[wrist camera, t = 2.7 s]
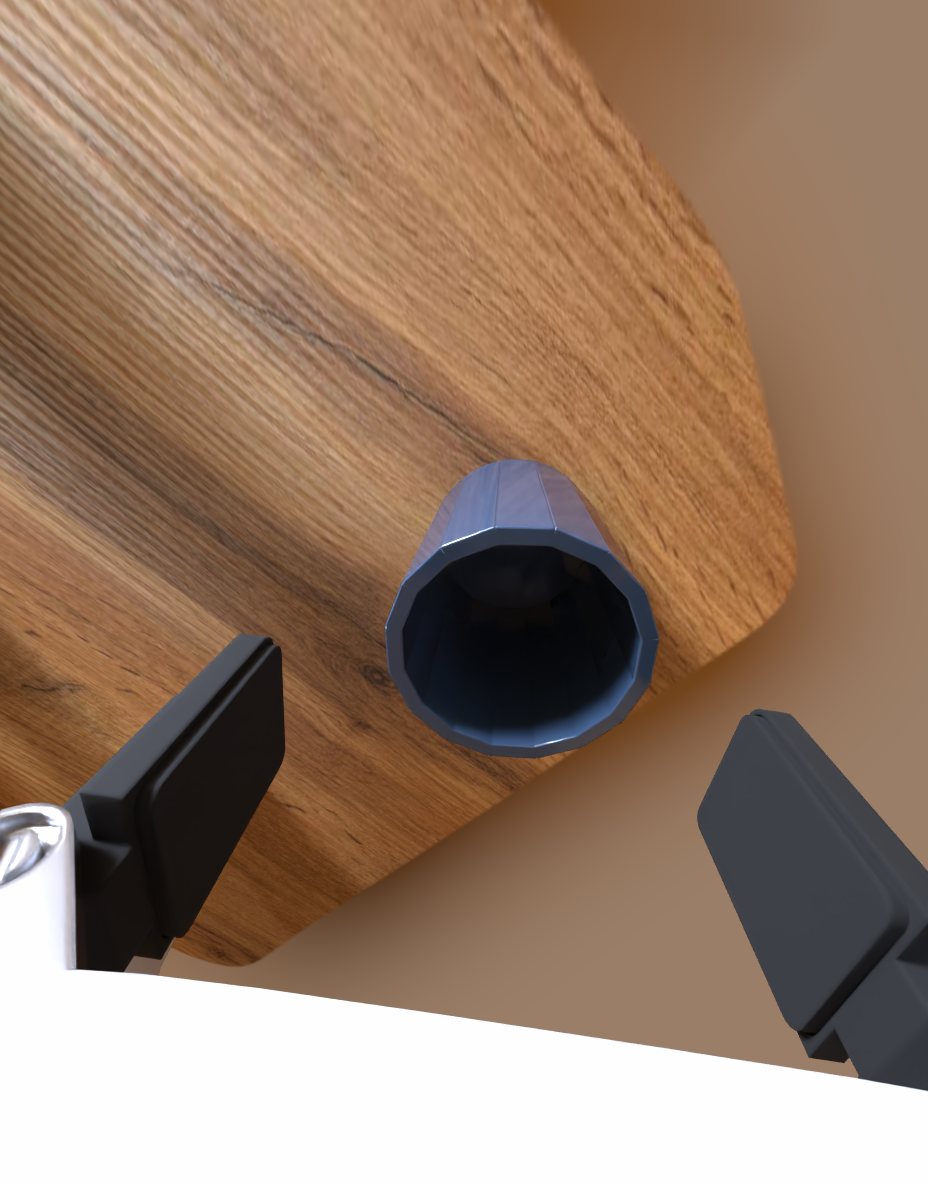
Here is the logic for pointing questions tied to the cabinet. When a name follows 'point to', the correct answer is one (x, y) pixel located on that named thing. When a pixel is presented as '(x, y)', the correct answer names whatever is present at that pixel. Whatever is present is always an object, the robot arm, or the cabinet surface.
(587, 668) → the tumbler
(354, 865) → the cabinet surface
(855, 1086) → the robot arm
